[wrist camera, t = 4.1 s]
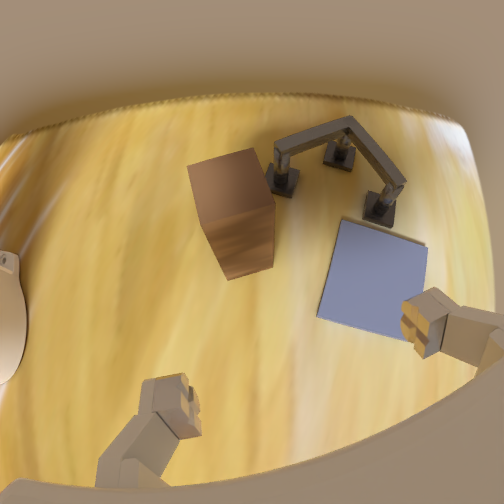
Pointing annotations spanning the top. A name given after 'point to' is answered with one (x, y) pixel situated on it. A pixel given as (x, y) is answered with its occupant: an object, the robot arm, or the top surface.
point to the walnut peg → (235, 211)
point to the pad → (371, 279)
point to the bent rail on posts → (339, 164)
